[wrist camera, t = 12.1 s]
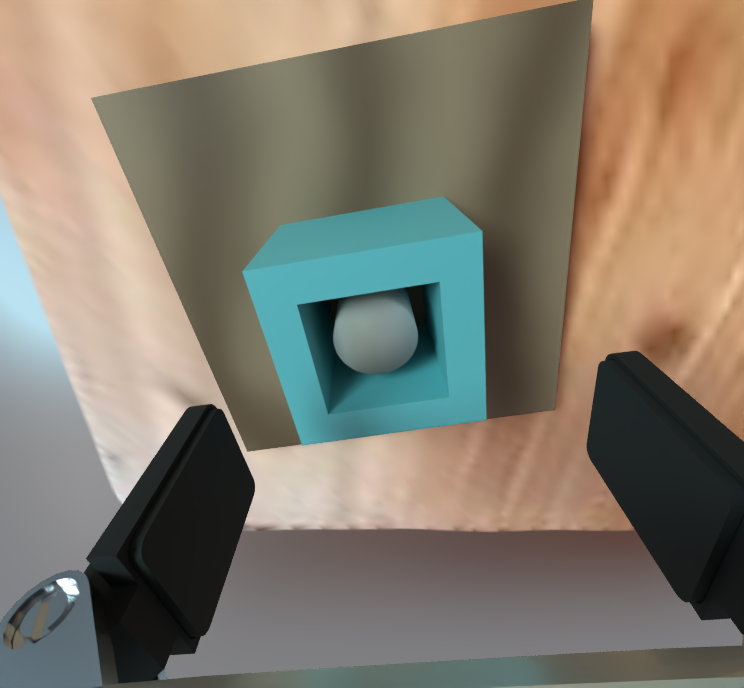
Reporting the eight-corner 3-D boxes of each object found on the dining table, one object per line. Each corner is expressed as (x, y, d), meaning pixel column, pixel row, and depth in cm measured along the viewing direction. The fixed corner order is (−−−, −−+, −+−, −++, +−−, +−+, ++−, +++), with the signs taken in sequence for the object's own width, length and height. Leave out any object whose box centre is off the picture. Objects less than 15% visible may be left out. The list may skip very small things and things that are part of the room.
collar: (443, 196, 16) (482, 231, 11) (453, 341, 20) (486, 419, 14) (280, 225, 17) (242, 271, 11) (318, 361, 20) (302, 445, 15)
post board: (572, 8, 14) (708, -67, 9) (544, 393, 23) (602, 480, 18) (114, 100, 15) (-31, 85, 10) (253, 433, 24) (220, 527, 19)
